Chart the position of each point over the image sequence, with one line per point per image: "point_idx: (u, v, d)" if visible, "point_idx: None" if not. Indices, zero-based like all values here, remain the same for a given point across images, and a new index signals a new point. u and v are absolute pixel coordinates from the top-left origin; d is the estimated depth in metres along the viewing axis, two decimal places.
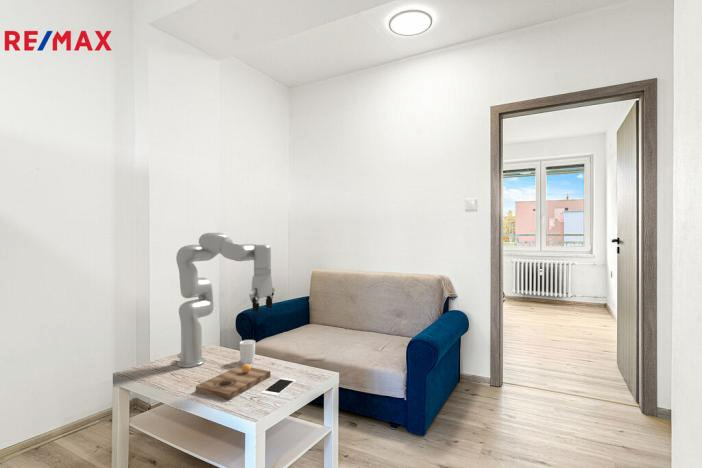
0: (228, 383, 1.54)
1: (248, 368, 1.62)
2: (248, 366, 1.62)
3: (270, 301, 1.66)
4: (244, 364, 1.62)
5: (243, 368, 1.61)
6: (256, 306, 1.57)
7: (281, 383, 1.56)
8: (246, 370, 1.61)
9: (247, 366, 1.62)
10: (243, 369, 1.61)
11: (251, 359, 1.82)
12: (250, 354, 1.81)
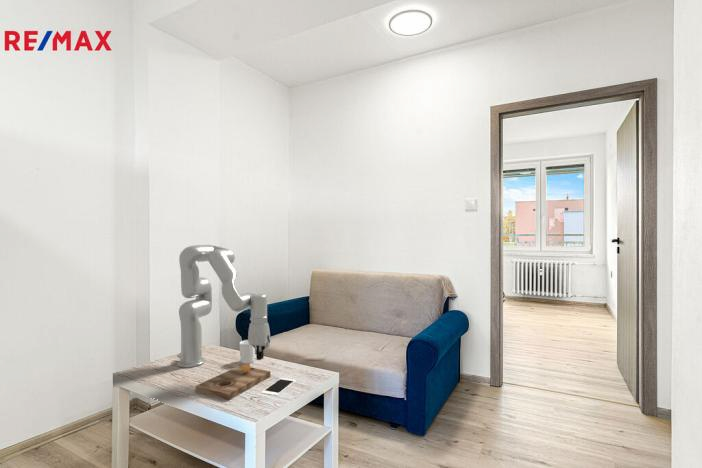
0: (228, 383, 1.54)
1: (248, 368, 1.62)
2: (248, 366, 1.62)
3: None
4: (244, 364, 1.62)
5: (243, 368, 1.61)
6: None
7: (281, 383, 1.56)
8: (246, 370, 1.61)
9: (247, 366, 1.62)
10: (243, 369, 1.61)
11: (251, 359, 1.82)
12: (250, 354, 1.81)
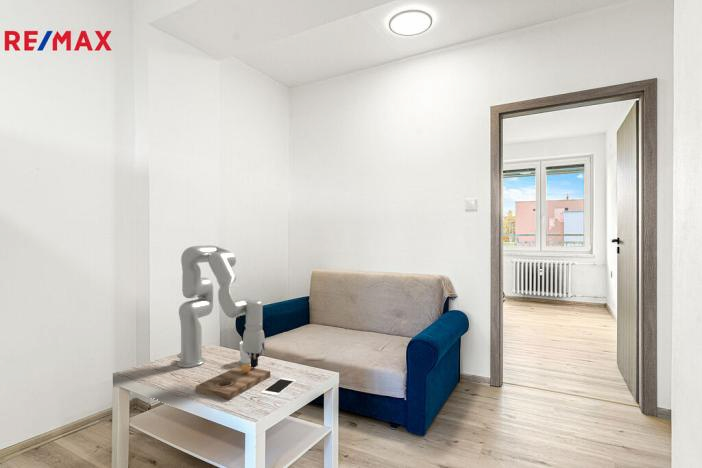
0: (228, 383, 1.54)
1: (248, 368, 1.62)
2: (248, 366, 1.62)
3: None
4: (244, 364, 1.62)
5: (243, 368, 1.61)
6: None
7: (281, 383, 1.56)
8: (246, 370, 1.61)
9: (247, 366, 1.62)
10: (243, 369, 1.61)
11: None
12: None
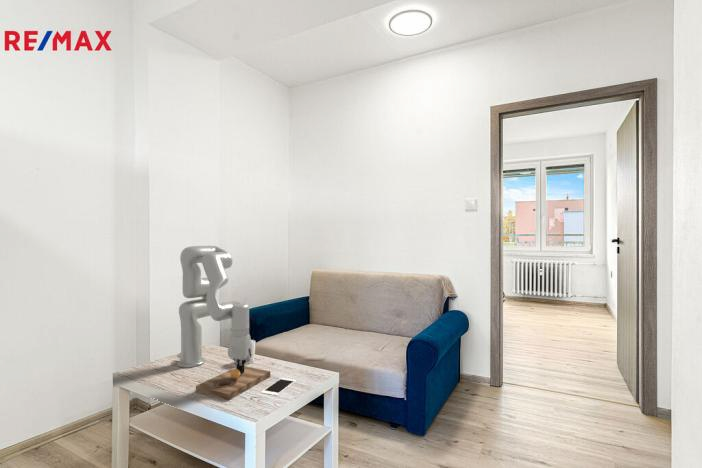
0: (228, 383, 1.54)
1: (239, 373, 1.56)
2: (239, 375, 1.56)
3: None
4: None
5: None
6: None
7: (281, 383, 1.56)
8: (239, 371, 1.56)
9: (239, 374, 1.56)
10: None
11: (251, 359, 1.82)
12: None
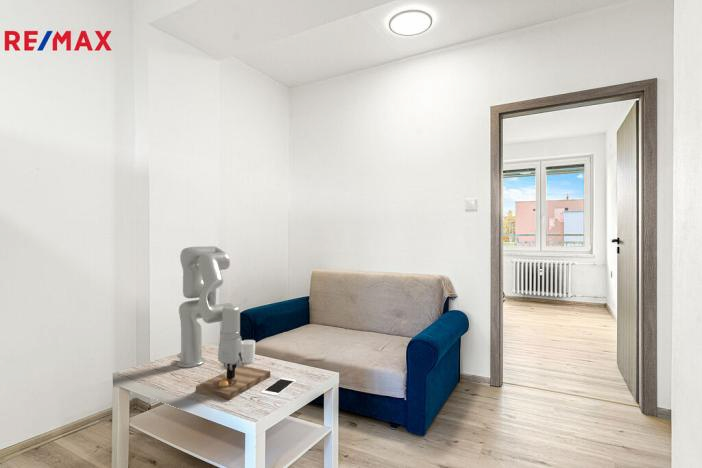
0: (228, 383, 1.54)
1: (224, 385, 1.49)
2: (223, 384, 1.49)
3: None
4: None
5: None
6: None
7: (281, 383, 1.56)
8: None
9: (222, 385, 1.49)
10: None
11: (251, 359, 1.82)
12: (250, 354, 1.81)
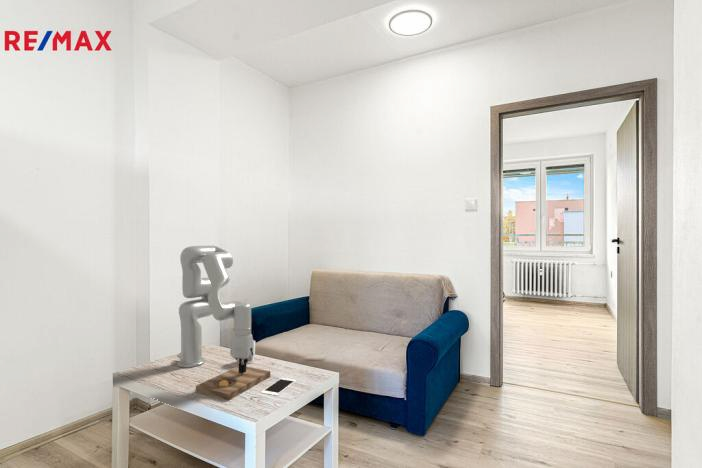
0: None
1: (224, 385, 1.49)
2: (223, 384, 1.49)
3: None
4: None
5: None
6: None
7: (281, 383, 1.56)
8: None
9: (222, 385, 1.49)
10: None
11: None
12: None
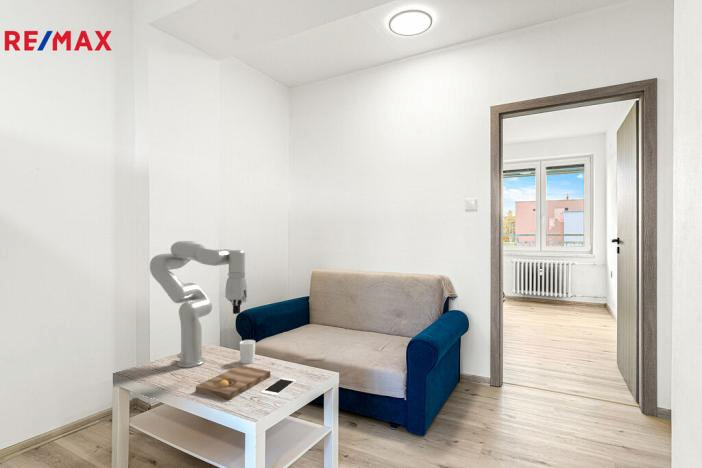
0: None
1: (225, 385, 1.49)
2: (223, 383, 1.49)
3: None
4: (219, 384, 1.49)
5: None
6: None
7: (281, 383, 1.56)
8: None
9: (222, 384, 1.49)
10: None
11: (251, 359, 1.82)
12: (250, 354, 1.81)
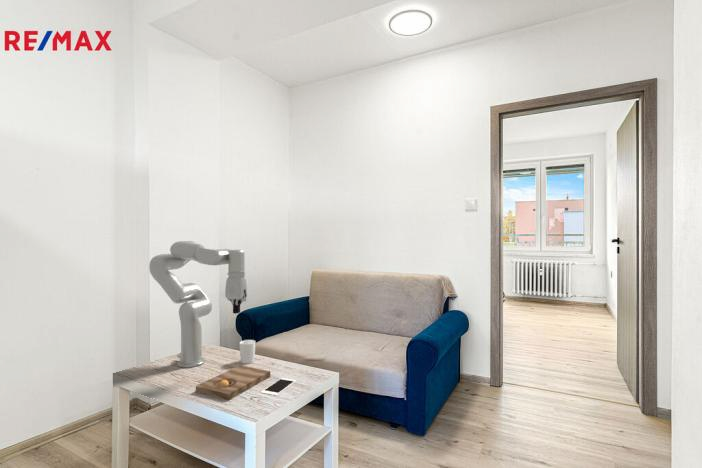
0: None
1: (225, 385, 1.49)
2: (223, 383, 1.49)
3: None
4: (219, 384, 1.50)
5: None
6: None
7: (281, 383, 1.56)
8: None
9: (222, 384, 1.49)
10: None
11: (251, 359, 1.82)
12: (250, 354, 1.81)
